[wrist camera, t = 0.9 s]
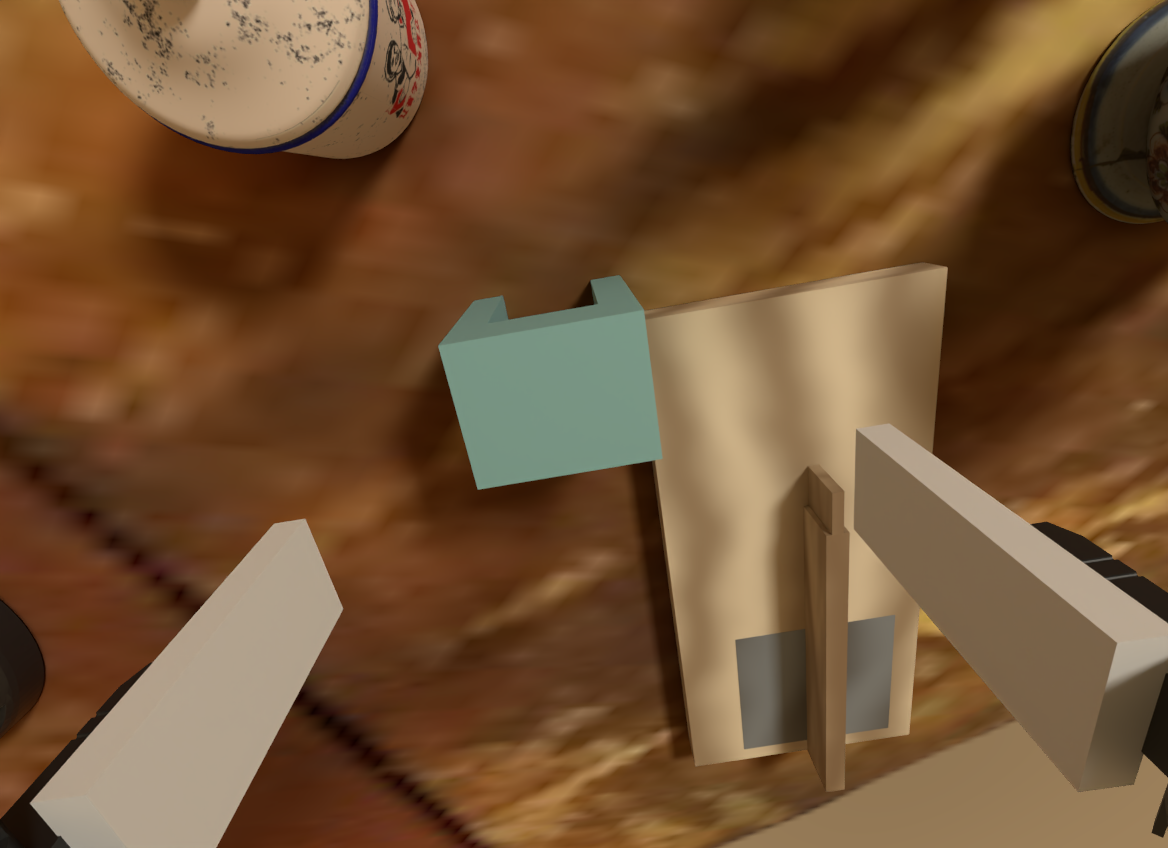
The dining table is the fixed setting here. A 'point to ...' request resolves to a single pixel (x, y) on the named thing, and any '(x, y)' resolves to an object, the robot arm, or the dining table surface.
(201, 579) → the dining table surface
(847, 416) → the board
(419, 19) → the teacup with lid
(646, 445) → the bracket
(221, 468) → the dining table surface
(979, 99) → the dining table surface
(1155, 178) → the apothecary jar
